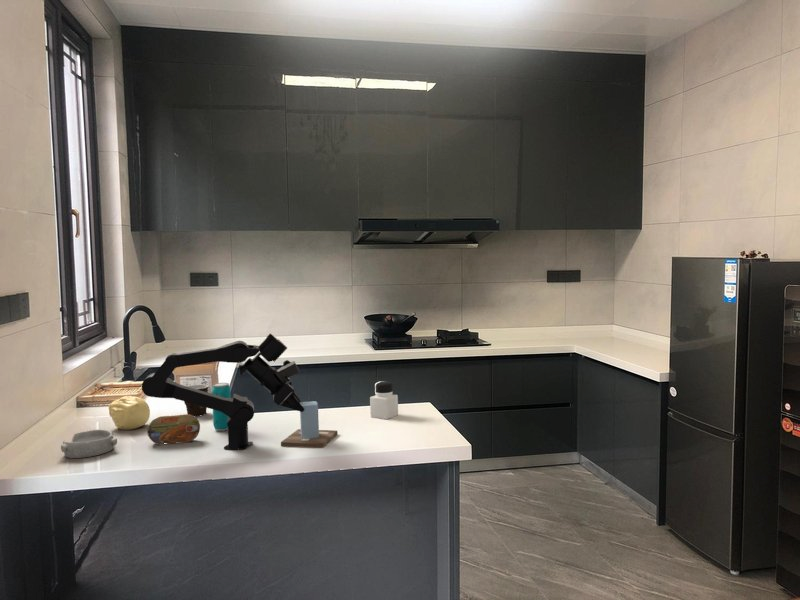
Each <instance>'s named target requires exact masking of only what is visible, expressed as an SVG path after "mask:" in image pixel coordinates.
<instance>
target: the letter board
mask: <svg viewBox="0 0 800 600" xmlns="http://www.w3.org/2000/svg"><path fill="white" fill-rule="evenodd" d="M336 436H338V430H336V429H335V430H330V429H329V430H328V429H326V430H325V429H319V438H308V439H302V436H301V428H299V429H296V430H295V431H294V432H293V433H291V434H290V435H288V436H287V437H286V438H285V439H283V440H282V441H281V442H280V447H297V448H298V447H299V448H321V449H324V447H325V446H327V445H328V444H329V443H330V442H331V441H333V439H334V438H335V437H336Z"/></svg>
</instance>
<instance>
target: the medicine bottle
mask: <svg viewBox="0 0 800 600" xmlns="http://www.w3.org/2000/svg"><path fill="white" fill-rule="evenodd" d="M374 393H375V395H373V396H370V397H369V404H370V406H369V407H370V409H369V410H370V417H371V418H375V419H382V420H390V419H392V418H394V417H397V416H398V415H399V397H398V396H399V395H398V394H393V383H392V382H391V381H387V380H382V381H378V382H377V381H376V383H375V384H374Z"/></svg>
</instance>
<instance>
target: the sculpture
mask: <svg viewBox="0 0 800 600" xmlns="http://www.w3.org/2000/svg"><path fill="white" fill-rule="evenodd" d="M108 411H109V412H108V413H109V417H111V419H112V421H113V423H114V426H115V427H116V428H118V429H120V430H123V431H124V430H127V431H130V430H135V429H138V428H141V427H143V426H145V425H146V424H147V423H148V421H149V420H150V417H151V410H150V406H149V404H148V403H147V402H146V400H144V399H143V398H141V397H137V396H131V395H124V396H122V397H120V398H118V399H115V400H113V401H112V402H111V403H110V404H109V405H108Z"/></svg>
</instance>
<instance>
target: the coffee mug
mask: <svg viewBox="0 0 800 600" xmlns="http://www.w3.org/2000/svg"><path fill="white" fill-rule="evenodd" d="M187 387H190V388H194V389H197V390H200V391H204V392H207V393H209V385H207V384H191V385H187ZM183 403H184V405H185V408H186V414H189V415H193V416H196V417H201V416H200V415H202V416H205V415H207V410H208V408H206V407H203V406H199V405H196V404H192V403H189V402H185V401H183ZM204 414H205V415H204Z"/></svg>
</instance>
